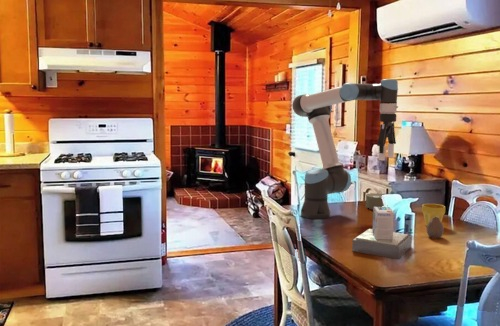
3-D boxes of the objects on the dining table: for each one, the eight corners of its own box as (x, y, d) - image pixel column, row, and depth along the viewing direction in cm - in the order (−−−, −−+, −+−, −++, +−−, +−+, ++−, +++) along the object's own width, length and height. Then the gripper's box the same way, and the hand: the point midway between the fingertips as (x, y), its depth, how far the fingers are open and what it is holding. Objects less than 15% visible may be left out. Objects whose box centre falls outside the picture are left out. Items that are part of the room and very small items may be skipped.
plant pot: (417, 223, 238) (418, 203, 237) (438, 223, 239) (439, 203, 238) (426, 228, 228) (428, 208, 227) (448, 228, 229) (449, 207, 227)
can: (388, 206, 276) (389, 194, 275) (386, 210, 265) (386, 198, 264) (367, 204, 280) (367, 192, 280) (363, 208, 269) (364, 196, 269)
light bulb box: (371, 232, 201) (373, 206, 199) (388, 232, 200) (390, 206, 199) (375, 239, 190) (376, 212, 189) (393, 240, 190) (394, 212, 188)
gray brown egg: (442, 236, 216) (444, 216, 215) (443, 240, 210) (444, 220, 208) (426, 234, 218) (427, 215, 217) (426, 238, 212) (427, 218, 211)
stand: (352, 251, 193) (352, 237, 192) (367, 240, 208) (367, 227, 208) (398, 259, 184) (399, 245, 183) (410, 247, 199) (411, 234, 198)
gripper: (388, 113, 215) (386, 162, 217) (403, 112, 236) (401, 156, 238) (371, 113, 218) (369, 160, 221) (387, 112, 239) (385, 155, 242)
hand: (386, 158), depth 230 cm, fingers open, 13 cm apart
